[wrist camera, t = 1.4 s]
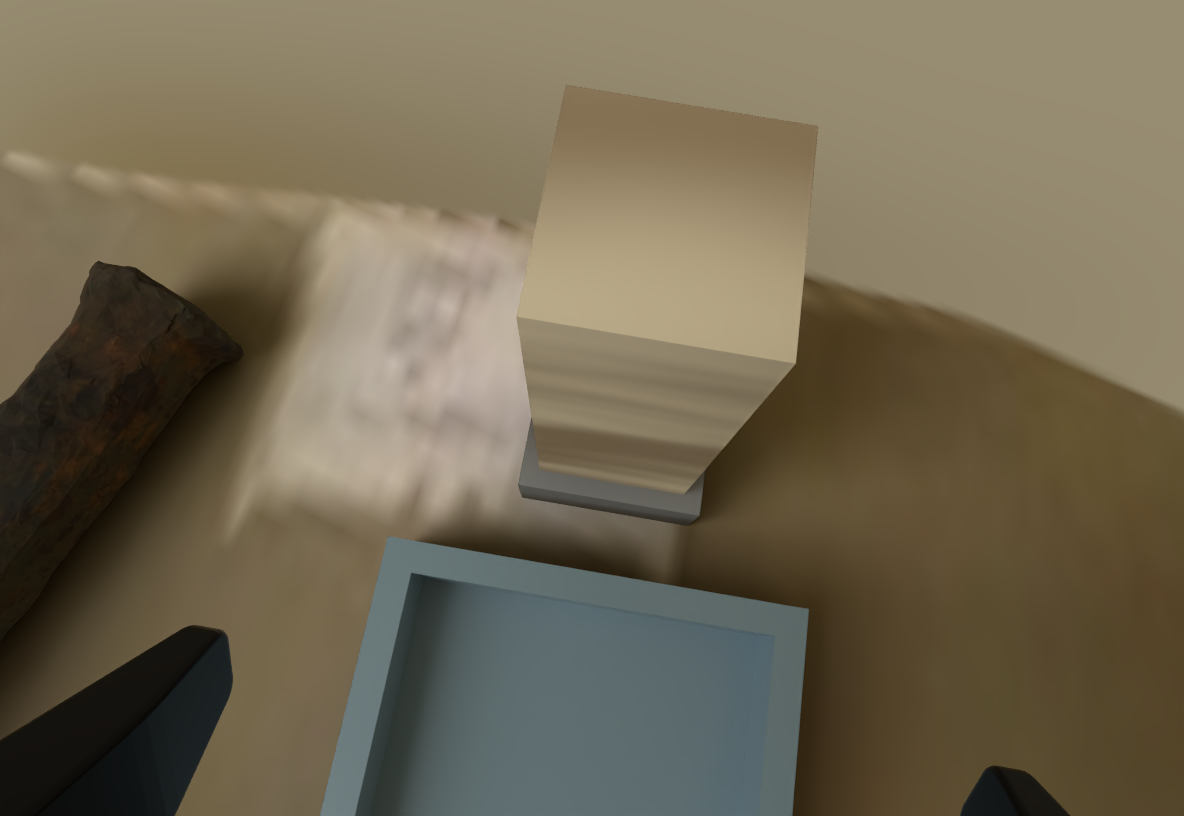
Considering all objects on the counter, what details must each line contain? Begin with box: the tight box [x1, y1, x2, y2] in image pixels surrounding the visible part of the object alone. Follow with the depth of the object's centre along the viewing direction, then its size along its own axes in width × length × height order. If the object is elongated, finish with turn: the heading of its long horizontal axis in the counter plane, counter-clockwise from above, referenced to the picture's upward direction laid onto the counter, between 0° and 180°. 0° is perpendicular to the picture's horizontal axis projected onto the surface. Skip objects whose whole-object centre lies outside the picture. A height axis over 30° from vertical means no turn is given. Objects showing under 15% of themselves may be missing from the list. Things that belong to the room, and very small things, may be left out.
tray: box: [320, 536, 809, 816], centre depth 19 cm, size 11×11×2 cm
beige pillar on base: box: [517, 85, 818, 526], centre depth 17 cm, size 5×5×12 cm
